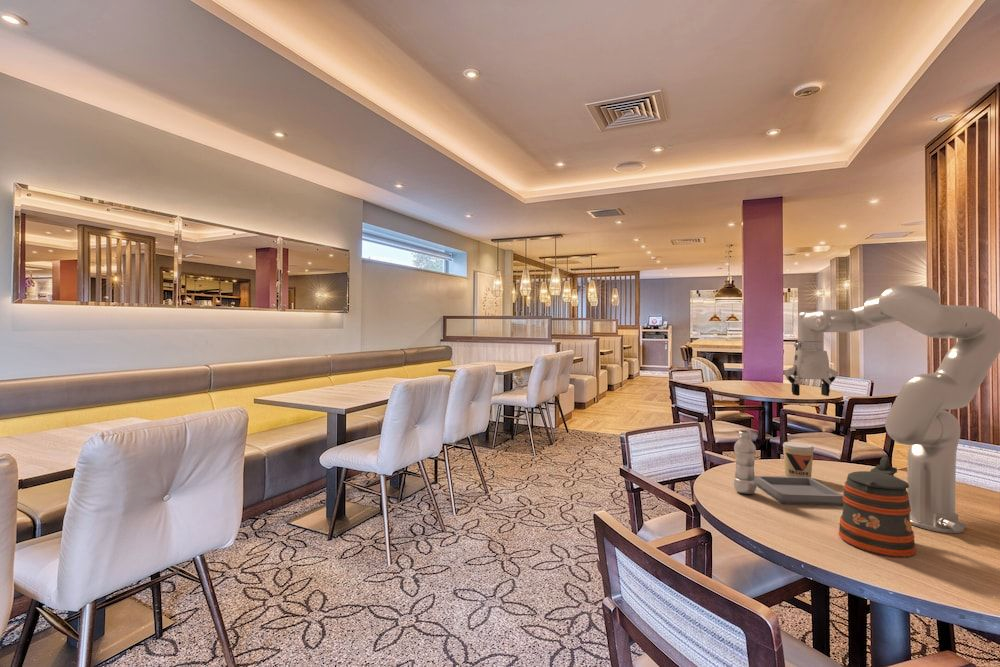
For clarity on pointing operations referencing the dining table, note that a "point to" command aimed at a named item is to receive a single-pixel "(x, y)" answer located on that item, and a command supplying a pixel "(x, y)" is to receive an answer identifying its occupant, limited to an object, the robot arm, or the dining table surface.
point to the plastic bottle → (745, 463)
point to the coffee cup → (798, 459)
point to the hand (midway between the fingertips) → (810, 395)
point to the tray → (799, 491)
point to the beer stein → (877, 512)
